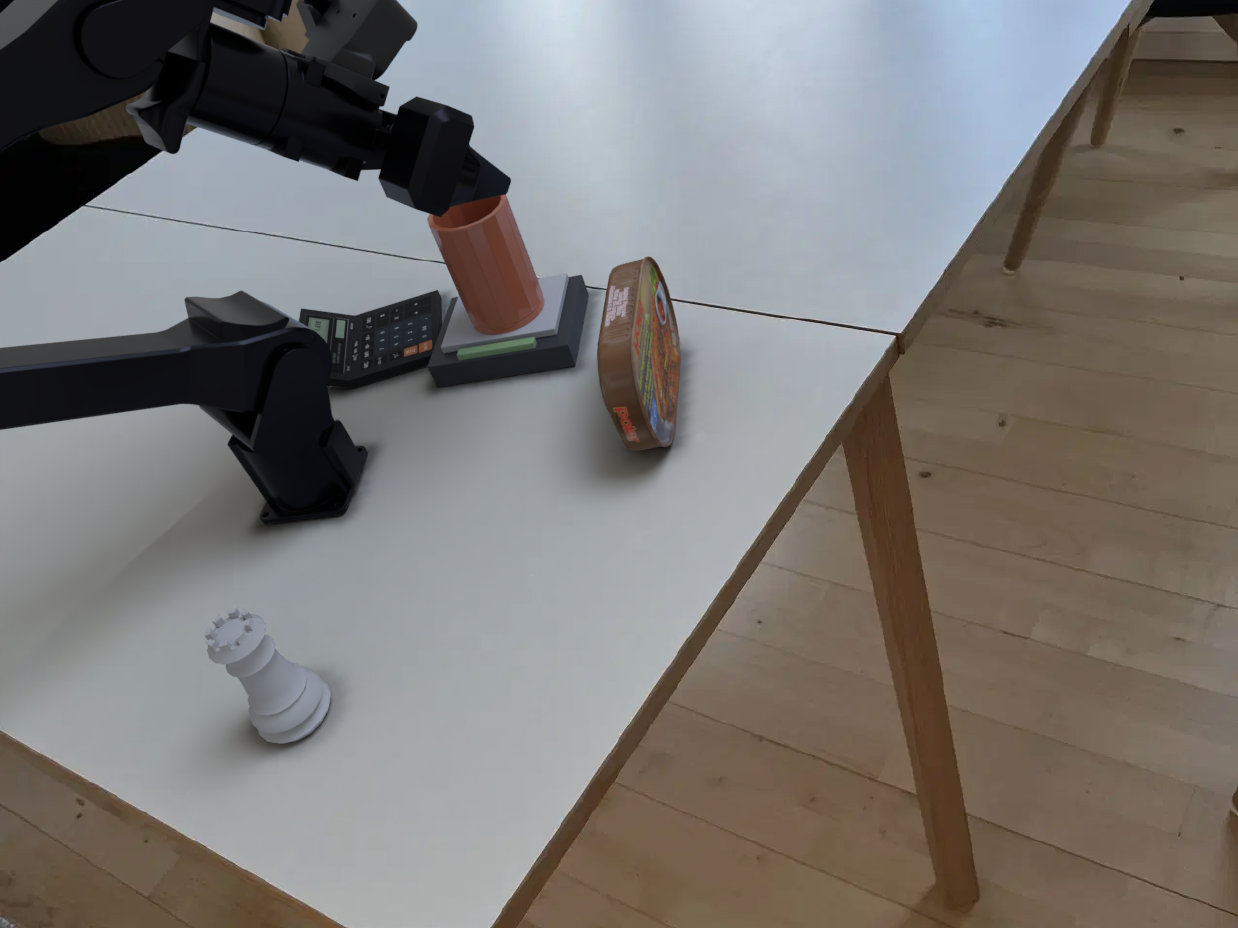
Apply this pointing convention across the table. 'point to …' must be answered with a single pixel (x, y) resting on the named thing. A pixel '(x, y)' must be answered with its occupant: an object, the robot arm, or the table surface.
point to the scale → (513, 338)
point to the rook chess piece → (268, 678)
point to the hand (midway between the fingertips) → (469, 172)
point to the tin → (639, 355)
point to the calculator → (378, 339)
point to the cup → (489, 264)
